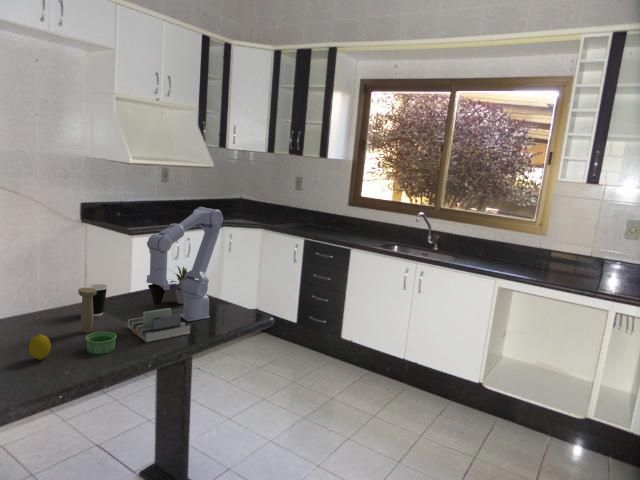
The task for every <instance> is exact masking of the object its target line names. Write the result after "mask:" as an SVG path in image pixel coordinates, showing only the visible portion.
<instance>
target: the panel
mask: <svg viewBox="0 0 640 480" xmlns="http://www.w3.org/2000/svg"><path fill="white" fill-rule="evenodd" d="M172 313H173V311H172V308H171V307H166V308H160V309H154V310H148V311H143V312H142V315H143V316H142V317H143V325H146V324H151V323H152V318H157V317H163V316H169V315H173V314H172Z"/></svg>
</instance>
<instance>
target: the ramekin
mask: <svg viewBox="0 0 640 480" xmlns="http://www.w3.org/2000/svg"><path fill="white" fill-rule="evenodd" d="M84 338H85V339H84V340H85V342H86V351H87V352H88V353H90V354H92V353H93V354H92V355H104V353H105V354H108V353H110V352H112V351H114V350H115V348H116V347H115V346H116V339H117V334H116V333H114V332H111V331H96V332H90V333H88V334H87V335H86V336H85V337H84Z"/></svg>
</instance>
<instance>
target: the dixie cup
mask: <svg viewBox="0 0 640 480" xmlns="http://www.w3.org/2000/svg"><path fill="white" fill-rule="evenodd" d="M84 288H93V289H96V290H97V294H96V295H94V296H93V314H94V317H101V316H103V315H102V314H104V311H105V305H106V296H107V289H108V285H106V284H104V283H103V284H102V283H93V284H92V283H91V284H88V285H85V286H84Z"/></svg>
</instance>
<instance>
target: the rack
mask: <svg viewBox="0 0 640 480" xmlns="http://www.w3.org/2000/svg"><path fill="white" fill-rule="evenodd" d="M181 318H182V317H181V315H180V313H176V314H175V313H174V314H172V315H169V316H163V317H157V318H152V323H151V324H146V325H143V316H142V317H136V318H130V319H127V328H128V329H129V330H131V332H132V333H133V334H134V335H136V336H137V337H139V338H141V340H143V341H144V342H145V343H150V342H151V343H152V342H156V341H159V340H165V339H169V338H170V339H171V338H175V337H179V336H180V337H181V336H184V335H190V334H191V325H189V324H188V325H187V324H186V322H185V321H181Z"/></svg>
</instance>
